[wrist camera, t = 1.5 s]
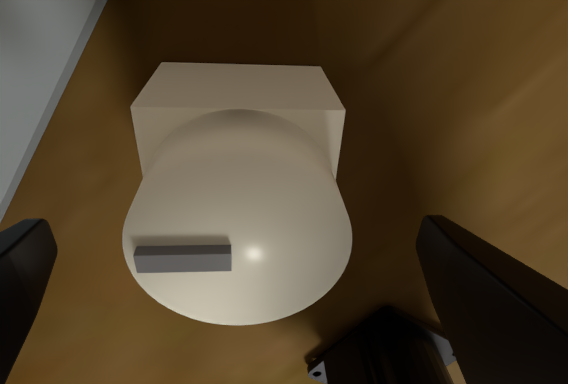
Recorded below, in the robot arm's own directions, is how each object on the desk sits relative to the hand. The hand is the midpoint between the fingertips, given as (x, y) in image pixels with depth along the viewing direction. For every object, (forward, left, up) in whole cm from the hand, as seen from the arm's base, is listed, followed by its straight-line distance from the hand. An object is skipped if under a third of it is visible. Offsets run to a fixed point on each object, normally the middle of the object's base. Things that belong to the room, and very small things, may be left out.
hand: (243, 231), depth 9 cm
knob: (0, 0, -5) cm, 5 cm away
